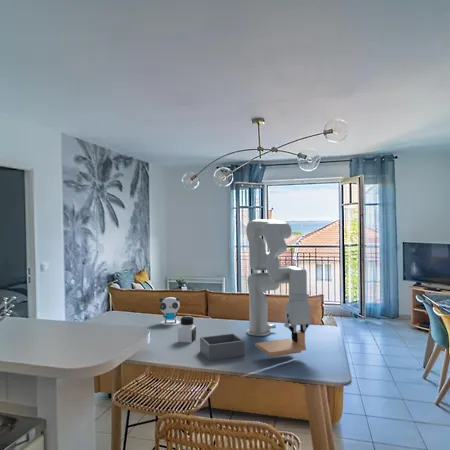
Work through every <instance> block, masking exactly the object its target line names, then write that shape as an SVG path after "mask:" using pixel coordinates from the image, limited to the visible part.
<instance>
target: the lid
mask: <svg viewBox="0 0 450 450" xmlns="http://www.w3.org/2000/svg"><path fill="white" fill-rule="evenodd" d="M299 330H300V329H299ZM299 330H297V329H296V332H297V342H294V341H292V338H291V339H290V338H284V339H283V338H282V339H277V340H269V341H260V342H256V343H255V344H254V345H255V347H256V348H258V349H259V350H260V351H262V352H263V353H265V354H266V355H268V356H269V357H271V358H273V357H281V356H286V355H293V354H301V353H302V351H306V350H307V347H306V332H305V333H303V332H301V331H299Z"/></svg>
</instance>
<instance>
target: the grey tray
mask: <svg viewBox="0 0 450 450" xmlns="http://www.w3.org/2000/svg"><path fill="white" fill-rule="evenodd" d="M199 352H200V354H202V355H203V356H204V357H205V358H206V359H207V361H208V362H211V361H217V360H222V359H223V360H224V359H231V358H237V357H238V358H239V357H244V356H245V340H244V339H242V338H241V337H239V336H238V335H237V334H236V333H234V332H233V333H225V334H217V335H207V336H200V337H199Z"/></svg>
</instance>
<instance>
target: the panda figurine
mask: <svg viewBox="0 0 450 450" xmlns="http://www.w3.org/2000/svg"><path fill="white" fill-rule="evenodd" d="M180 299H181V298H180V296H176V297H173V296H170V297H163V296H162V297H160V298H159V299H158V300H159V303H160V305H159V309H160V311H161V312H162V317H163V318H164V320H162V321H160V325H162V326H163V325H164V326H176V325H180V324H181V320H178V318H177V317H178V311H179V309H180V304H181V303H180Z"/></svg>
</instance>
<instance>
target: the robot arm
mask: <svg viewBox="0 0 450 450" xmlns="http://www.w3.org/2000/svg"><path fill="white" fill-rule="evenodd" d="M245 232H246V237H247V240H248V241H247V242H248V248H249V249H248V251H249V266H250V268H251V270H252V271H267V272H254V273H251V274H249V276H248V277H247V279H246V280H247V288H248V294H249V295H248V296H249V297H248V299H249V300H248V301H249V306H248V307H249V319H248V320H249V327H248V328H247V329H246V334H247V335H250V336H253V337H265V336H269V335H270V334H271V329H276V328H277V326H276V324H271V323H270V324H269V323H268V299H267V296H266V294H265V293H264V292H266V291H276V290H278V289H279V288H280V286H281V284H288V300H287V301H286V305H285V316H284V321H285V323H284V325H283V326H284V327H285V328H287V329H289V331H290V332H291V340H292V341H294V342H297V332H296V330H297V326H299V328H300V329H299V331H301V332H303V333H305V334H306V332H307V329H308V328H309V326H311V325H313V324H312V322H313V321H312V320H311V310H310V302H309V300H308V298H309V297H310V294H309V293H308V288H307V286H308V283H307V282H308V281H307V280H308V276H307V272H308V271H307V270H306V269H305V268H303V267H298V266H295V265H291V266H289V265H287V266H286V265H283V266H280V258H279V256H281V255H283V254H284V253H285V252H287V248H288V245H287V242H286V240H287V239H290V237H291V236H292V227H291V226H290V224H289V223H288V222H286V221H282V220H279V219H253V220H250V221H249V222H248V223H247V224H246V229H245ZM262 237H264V239H263V238H262ZM264 240H265V241H264ZM265 242H266V243H265ZM266 245H267V248H268V250H269V251H268V252H267V251H266Z"/></svg>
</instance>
